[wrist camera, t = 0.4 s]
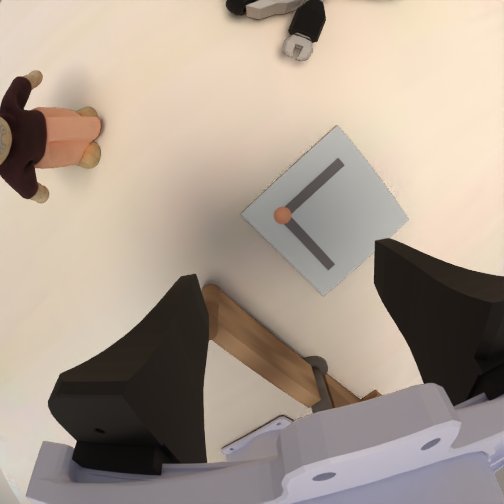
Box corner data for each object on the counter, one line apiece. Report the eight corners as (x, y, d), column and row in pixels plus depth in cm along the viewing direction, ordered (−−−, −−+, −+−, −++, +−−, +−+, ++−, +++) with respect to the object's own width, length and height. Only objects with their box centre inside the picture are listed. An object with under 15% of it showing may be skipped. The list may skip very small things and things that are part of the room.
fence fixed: (346, 421, 31) (359, 459, 25) (279, 375, 27) (287, 422, 22) (383, 396, 30) (401, 434, 24) (322, 344, 26) (339, 389, 21)
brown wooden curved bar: (324, 373, 26) (337, 414, 22) (310, 383, 27) (321, 424, 22) (211, 279, 23) (205, 318, 18) (196, 293, 23) (187, 333, 18)
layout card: (322, 294, 24) (323, 297, 24) (240, 213, 22) (240, 215, 21) (407, 218, 22) (409, 219, 22) (336, 125, 20) (338, 125, 19)
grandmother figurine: (117, 173, 20) (1, 227, 8) (74, 188, 20) (-48, 250, 9) (95, 73, 17) (-29, 39, 6) (52, 93, 18) (-77, 87, 6)
